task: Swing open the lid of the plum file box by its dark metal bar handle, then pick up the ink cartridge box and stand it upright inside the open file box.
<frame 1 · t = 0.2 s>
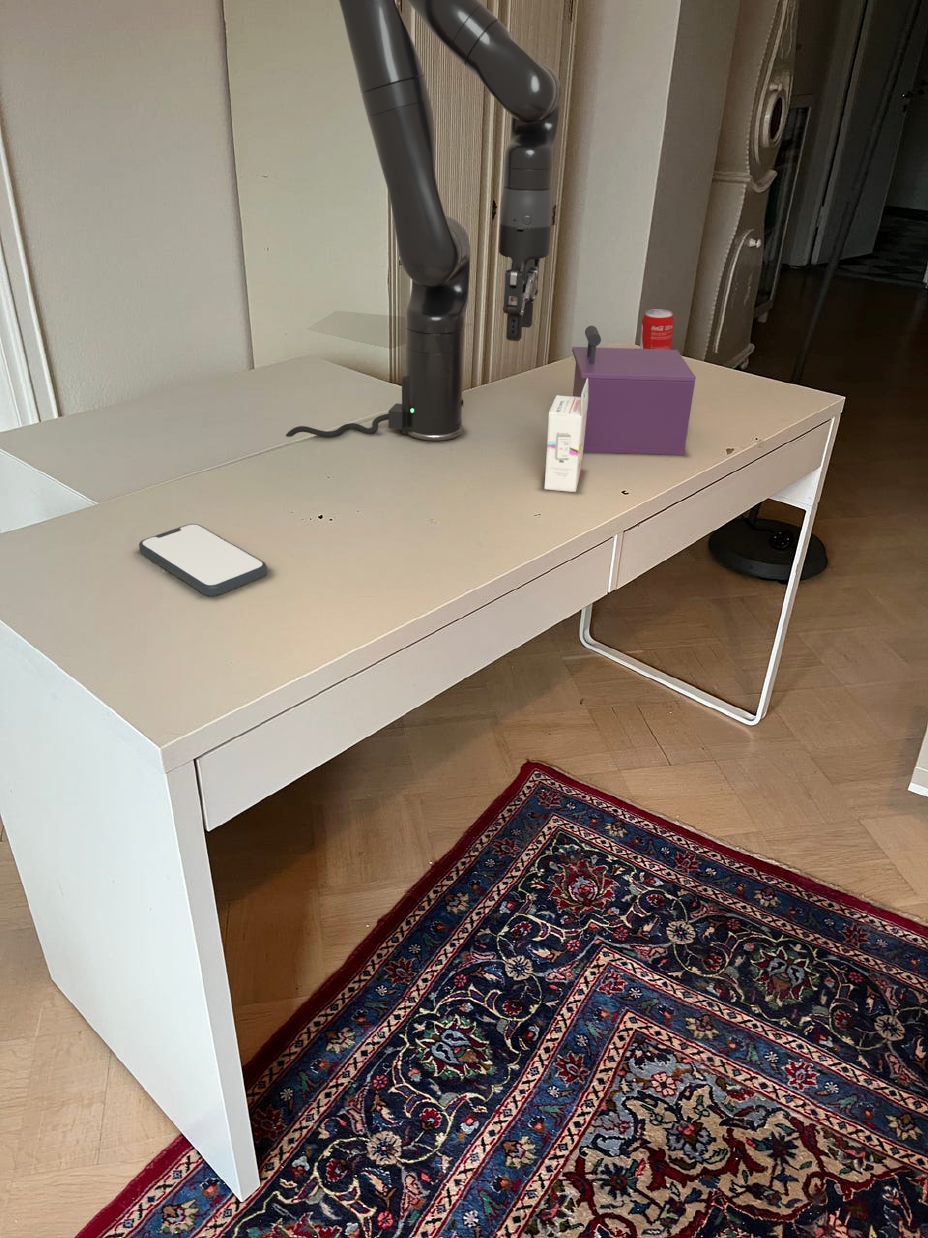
hand: (519, 333, 148), 17 cm above the table, tool pointing down, fingers open, 8 cm apart
beverage can: (649, 393, 181), on the table
lid: (633, 348, 152), point 15 cm above the table, hinge at 0.0°
file box: (624, 436, 160), on the table
ink cartridge box: (562, 481, 143), on the table
smartphone: (203, 565, 117), on the table
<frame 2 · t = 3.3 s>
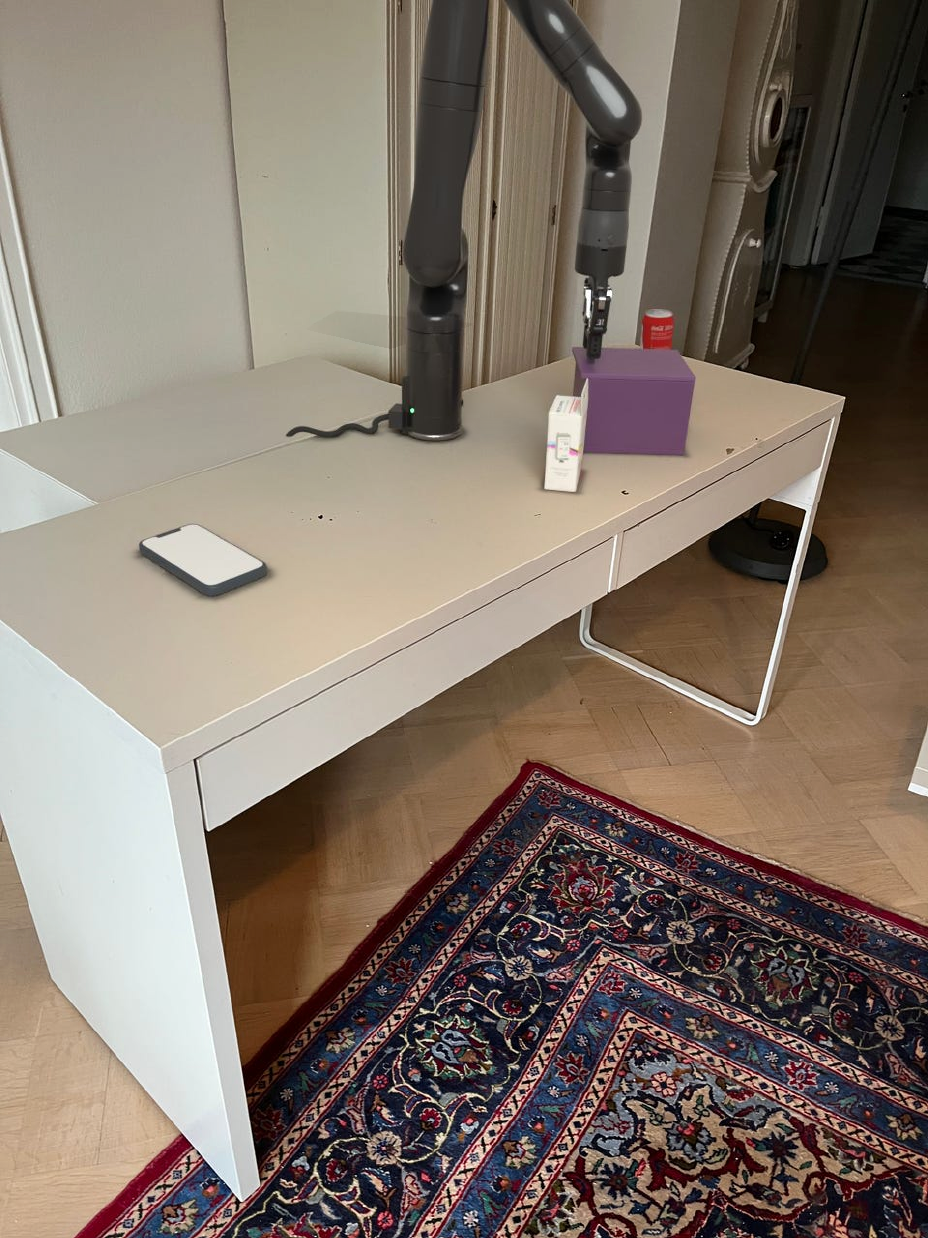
hand: (591, 352, 153), 14 cm above the table, tool pointing down, fingers closed on lid, 5 cm apart
lid: (633, 348, 152), point 15 cm above the table, hinge at 0.0°, touching gripper
everything else where it was.
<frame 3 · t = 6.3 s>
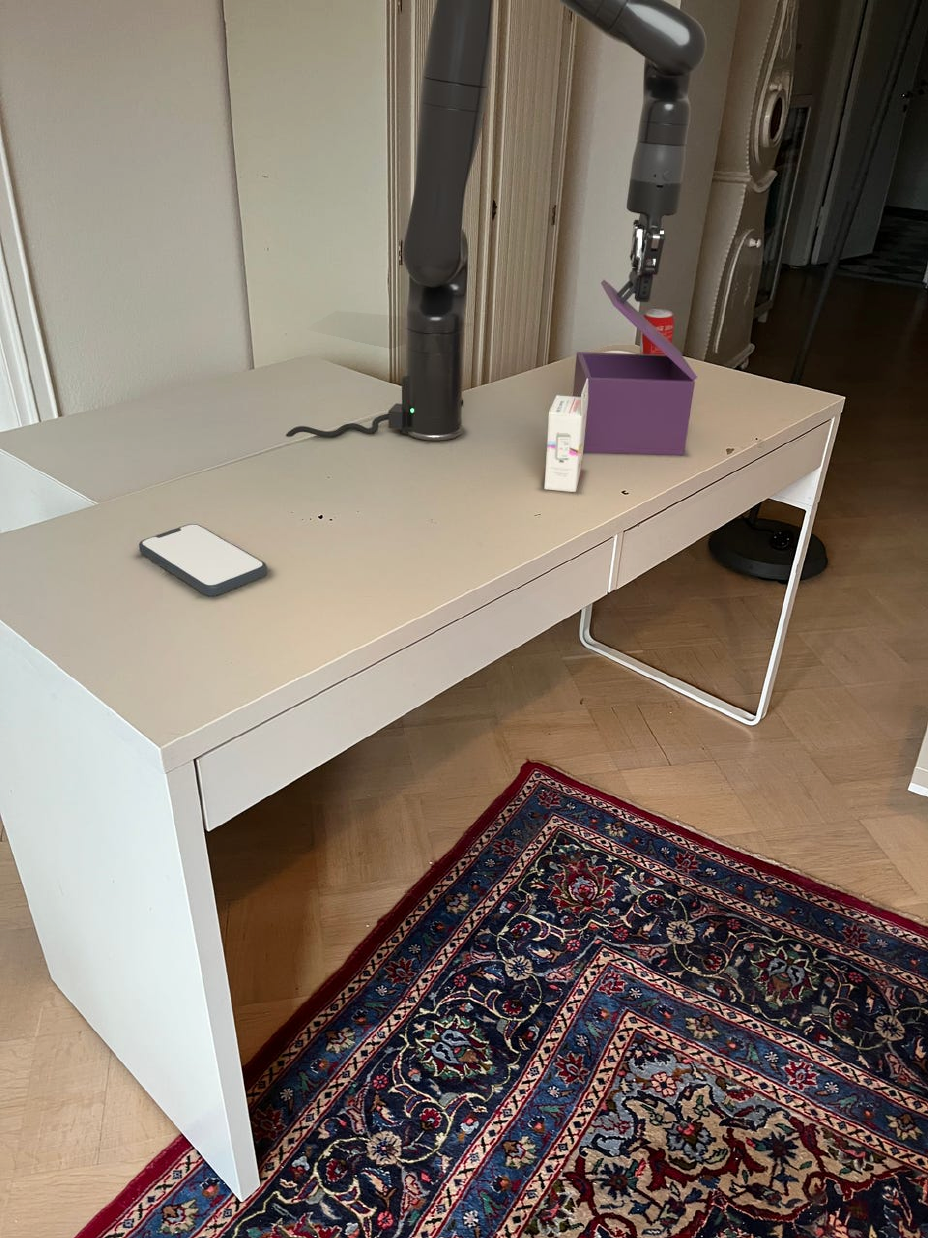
hand: (638, 296, 148), 23 cm above the table, tool pointing down, fingers closed on lid, 5 cm apart
lid: (658, 317, 150), point 20 cm above the table, hinge at 39.0°, touching gripper
everything else where it was.
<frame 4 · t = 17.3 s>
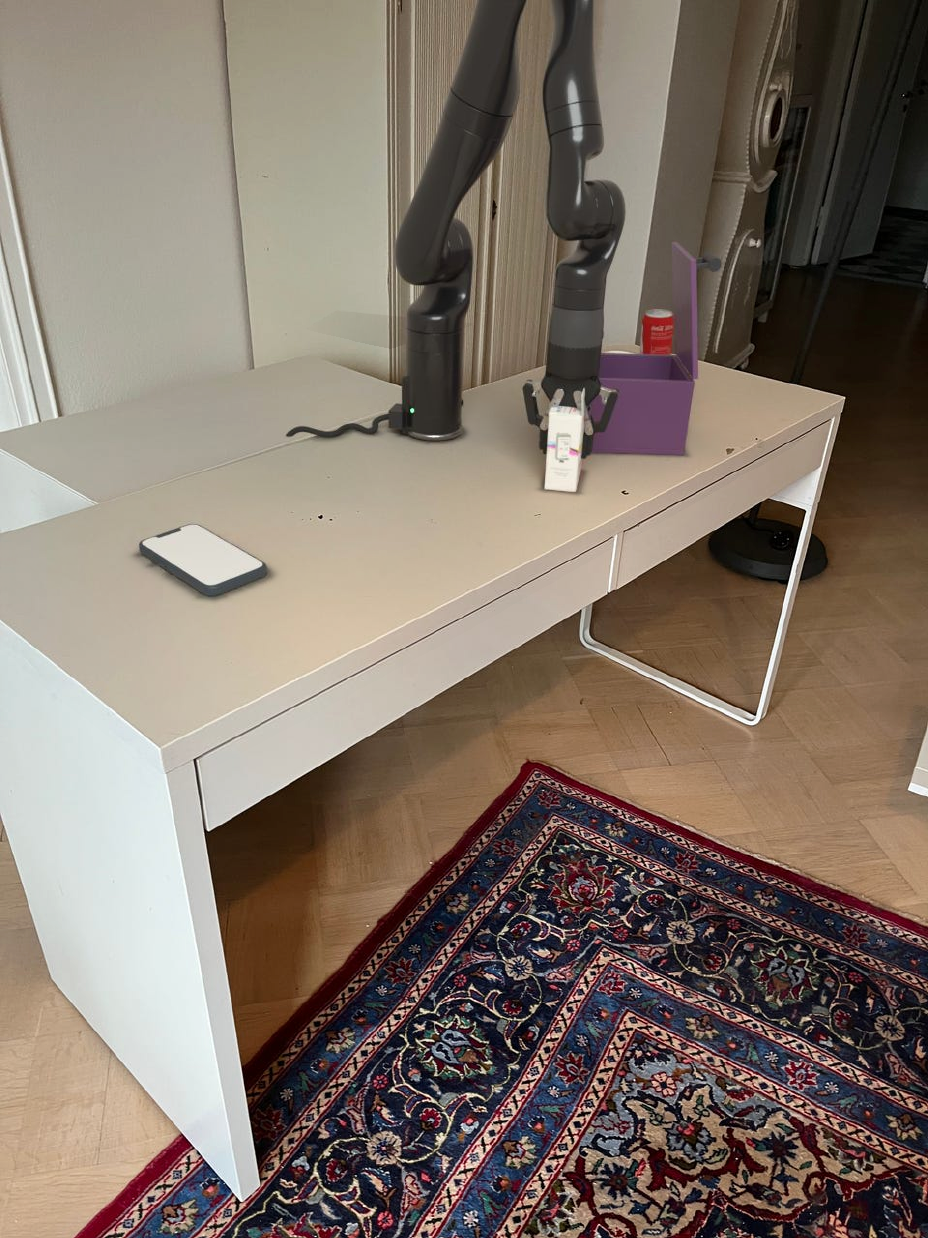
hand: (565, 454, 141), 4 cm above the table, tool pointing down, fingers closed on ink cartridge box, 5 cm apart
lid: (700, 307, 149), point 21 cm above the table, hinge at 80.3°
ink cartridge box: (562, 481, 143), on the table, touching gripper
everything else where it was.
when the fingers open (5 cm above the table, at t = 28.9 s): ink cartridge box stays where it is, resting on file box.
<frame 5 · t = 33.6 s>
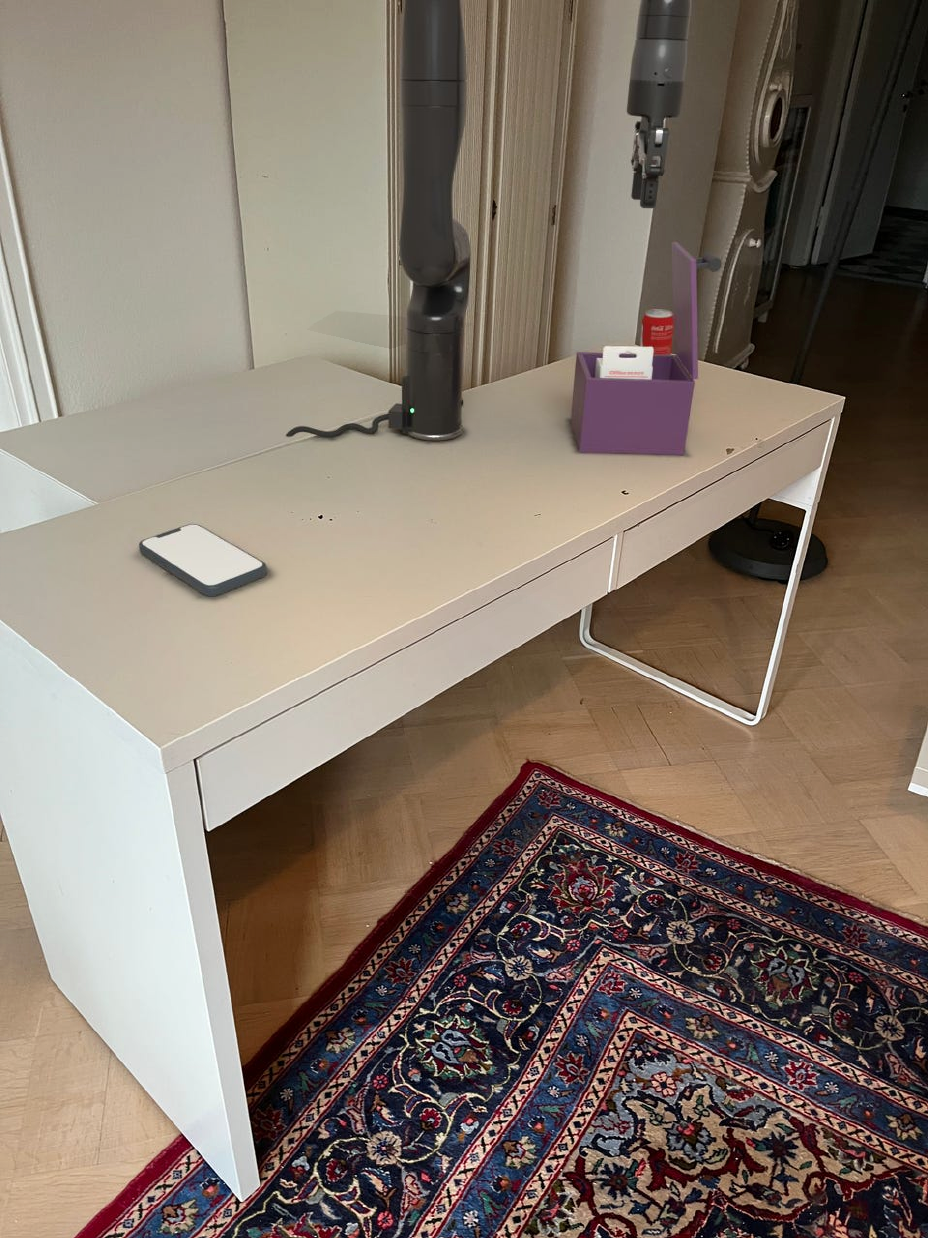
hand: (642, 203, 141), 36 cm above the table, tool pointing down, fingers open, 8 cm apart
ink cartridge box: (616, 432, 160), point 1 cm above the table, touching file box
everything else where it was.
at the end: lid at +80° (first picture: +0°); ink cartridge box inside the target area in the file box (1.5 cm from its centre), point 0.7 cm above the file box's base; ink cartridge box tilted 0° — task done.
